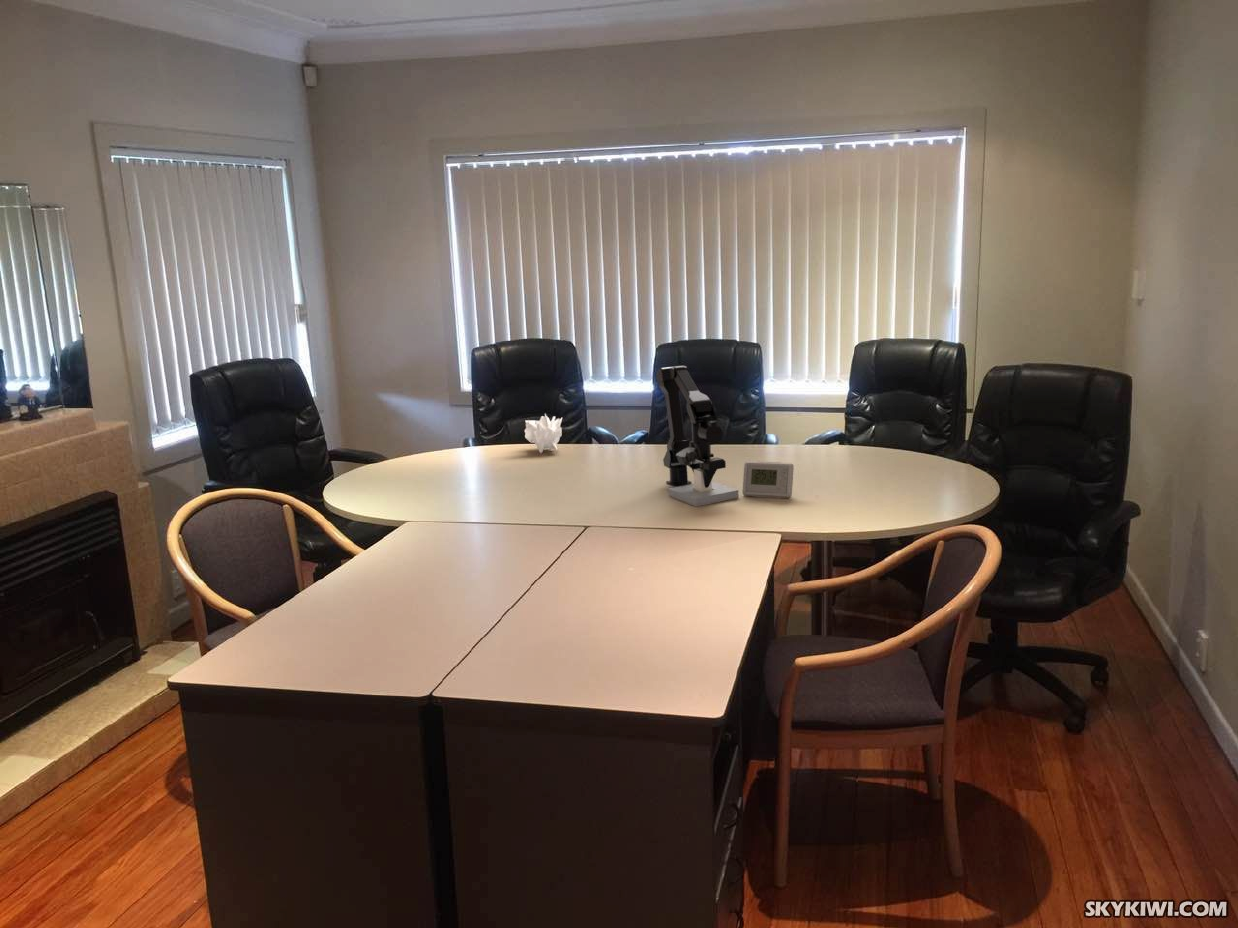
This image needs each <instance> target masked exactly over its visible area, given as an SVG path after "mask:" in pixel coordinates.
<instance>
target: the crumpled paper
mask: <svg viewBox="0 0 1238 928" xmlns="http://www.w3.org/2000/svg"><path fill="white" fill-rule="evenodd" d="M562 420H563V417H562V416H561V418H559V417H558V418H556V416H555V415H554V416H552V419H551V420H550V418H549V417H548V415H547V413H544V416H543V415H542V416H540V419H539V420H524V421H525V427H526V428H524V433H525V434H524V437H525V439H526V440H527V441H528V442H530V444H531V443H532V444H535V446H537V447H536V448H537V450H538V452H539V453H540V454H542V453H543V451H544V450H547V449H549V452H550V451H551V452H552V451H554V450H555V451H558V450H559V449H558V447H557V444H558V443H559V441H560V438H561V437H562V433H563V431H562V430H563V428H562V427H561V424H562Z"/></svg>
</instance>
